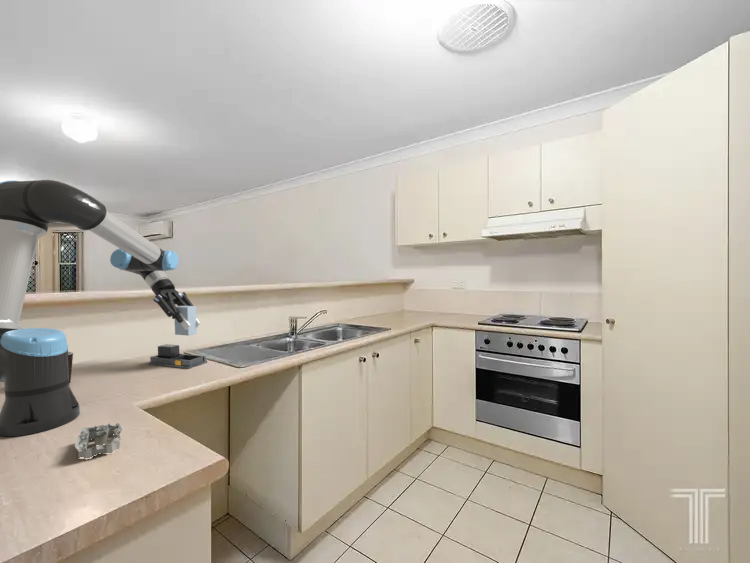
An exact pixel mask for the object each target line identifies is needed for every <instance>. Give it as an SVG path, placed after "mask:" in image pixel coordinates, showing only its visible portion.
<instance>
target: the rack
mask: <svg viewBox="0 0 750 563" xmlns="http://www.w3.org/2000/svg"><path fill="white" fill-rule="evenodd" d="M149 358H150V359H149V362H148V365H151V364H152V365H151V366H159V365H160V366H161V367H168V366H169V367H170V368H177V367H178V369H179V368H180V369H185V368H186V369H188V370H189V368H190V369H192V368H195V367H198V366H201V365H204V364H207V363H208V360H206V359H207V358H206V355H197V354H187V353H180V345H179V344H172V343H171V344H169V343H165V344H162V345H157V354H156V355H153V356H150V357H149ZM186 369H185V370H186Z"/></svg>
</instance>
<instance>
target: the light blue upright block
mask: <svg viewBox="0 0 750 563" xmlns="http://www.w3.org/2000/svg"><path fill="white" fill-rule="evenodd" d="M176 308H177V310H178V312H179V313H182V314H183V316H184V317H185V318H186V320H187V321H188V322H189V324H190V327H189V328H188V329H187V330H185V329H184V327H183V326H182V325H181V323H179V322H178V321H177V320H176V319H174V335H176V336H177V335H178V336H187V337H188V336H193V335H197V334H198V327H197V321H196V317H197V306H196V305H193V306H178V305H177V306H176ZM179 313H178V314H179Z"/></svg>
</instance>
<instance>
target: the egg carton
mask: <svg viewBox="0 0 750 563" xmlns="http://www.w3.org/2000/svg"><path fill="white" fill-rule="evenodd" d="M122 431H123V427H122V426H121V423H119V422H117V423H116V424H115V425H112V424H111V423H108V424H105V425H104V424H101V425H95V426H91V427H88V426H87V427H85V426H84V427H82V429H81V431H80V434H79V435H78V437H77V439H76V441H75V444H74V447H75V449H76V450H77V451H78V452H77V453H78V457H77V458H78V459H79V458H80V457H84V458H90V457H92V456H94V455H96V454H99V453H112V452H113V451H114V450H116V449H119V448H120V449H121V447H120V446H121V432H122ZM113 434H114V435H113ZM110 435H112V438H111V439H109V437H111V436H110ZM108 436H109V437H108ZM91 439H95V440H94V445H93V446H92V447H91V448H90V449H88V448H89V447H90V446H89V445H90V443H89V442H90V441H89V440H91ZM91 441H92V440H91ZM103 444H105V445H103ZM95 445H99V446H95ZM88 446H89V447H88ZM87 447H88V448H87ZM120 449H119V450H120Z"/></svg>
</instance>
